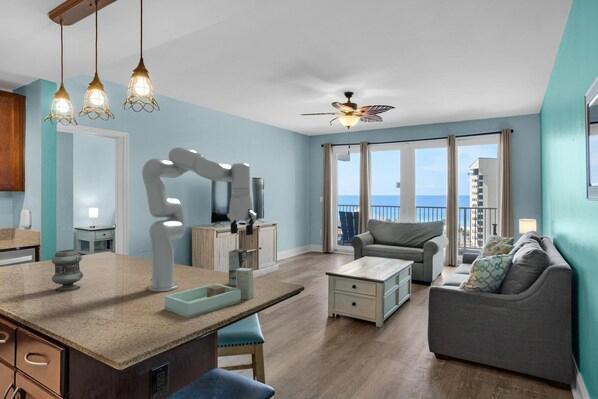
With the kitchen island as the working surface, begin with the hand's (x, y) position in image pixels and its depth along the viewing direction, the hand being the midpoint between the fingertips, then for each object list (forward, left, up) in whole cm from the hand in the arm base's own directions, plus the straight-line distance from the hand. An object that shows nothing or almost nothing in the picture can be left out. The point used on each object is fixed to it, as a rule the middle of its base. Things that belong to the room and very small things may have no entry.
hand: (241, 234), depth 148 cm
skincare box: (0, +1, -27) cm, 27 cm away
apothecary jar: (-75, -40, -27) cm, 89 cm away
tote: (-5, -16, -27) cm, 31 cm away
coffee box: (-21, +16, -27) cm, 38 cm away
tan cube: (-5, -10, -26) cm, 28 cm away
